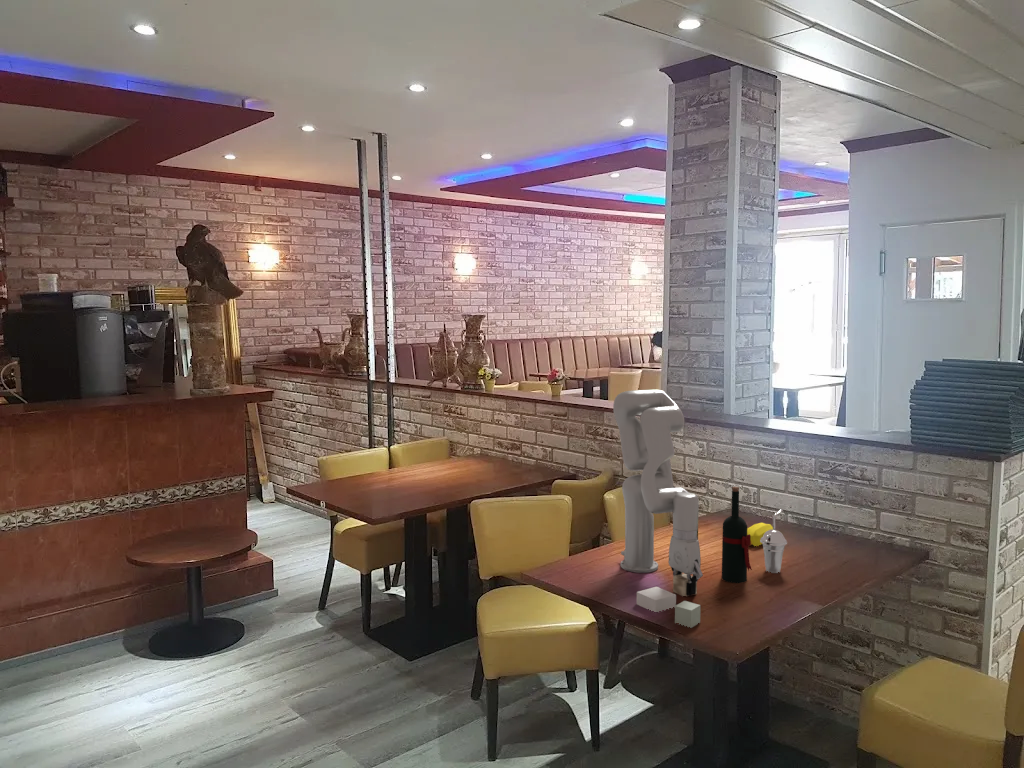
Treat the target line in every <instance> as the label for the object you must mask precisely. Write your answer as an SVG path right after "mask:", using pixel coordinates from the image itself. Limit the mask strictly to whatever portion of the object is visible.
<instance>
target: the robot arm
mask: <svg viewBox="0 0 1024 768" xmlns="http://www.w3.org/2000/svg"><path fill="white" fill-rule="evenodd" d="M612 412H613V416H614V419H615V423H616V425H617V428H618V431H619V439H620V446H621V447H620V448H621V453H622V455H621V456H622V461H623V464H624V467H625V468H626V469H627V470H629V471H632V472H633V471H634V472H635V471H642V472H641V474H633V475H630V476H628V477H626V478H625V479H624V480H623V483H622V484H621V485H622V486H621V491H622V496H623V502H624V519H625V520H624V522H625V525H624V527H625V528H624V529H625V530H624V531H625V532H624V534H625V535H624V547H625V548H624V550H621V551H620V555H622V556H623V560H621V561H620V568H621V569H622V570H624V571H627V572H632V573H640V574H643V573H653V572H655V571H656V570H658V569H659V564H658V562H657V561H656V560H654V558H655V557H654V556H655V555H654V552H655V551H654V547H655V545H654V544H655V543H654V542H655V540H654V539H655V538H654V537H655V526H654V525H655V524H654V523H655V521H654V520H655V519H654V518H655V517H654V514H656V515H657V514H665V513H672V535H671V537H670V542H669V549H668V566H669V567H670V568H671V571H672V577H673V576H675V575H680V574H687V579H688V582H687V583H686V595H687V596H686V597H689V596H690V595H691V596H694V595H697V594H696V582H697V583H698V581H699V580H700V578H702V577H703V572H702V570H701V562H702V561H701V547H700V542H699V541H700V540H699V502H700V501H699V497H698V495H697V494H695V493H693V492H689V491H687V490H686V489H685V488H684V487H680V486H676V487H674V478H673V472H672V465H671V459H672V458H673V457H674V456H675V454H676V451H675V446H674V442H673V438H672V434H671V433H672V432H673V433H674V432H675V433H677V432H679V431H682V429H683V428H684V425H685V416H684V414H683V411H682V409H681V408H680V407H679V405H678V404H677V403H676V402H675V401H674V400H673V399H672V398H671V397H670V396H669V395H668V394H667V393H666V392H665V391H664V390H661V389H656V388H655V389H637V390H636V389H635V390H634V389H633V390H625V391H622V392H620V393H619V394H617V395H616V397H615V398H614V401H613V411H612ZM637 416H640V420H639V418H638V417H637ZM691 576H693V577H692V578H691Z"/></svg>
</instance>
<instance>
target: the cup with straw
mask: <svg viewBox="0 0 1024 768" xmlns="http://www.w3.org/2000/svg"><path fill="white" fill-rule="evenodd" d="M783 512H784V509H783V508H781V509H779V510H778V511H777V512H776V513H774V514H773V515H772V527H773V530H768V531H766V532H765V533H764V535H763V537H762V538H761V540H760V542H761V543H762V544H761V545H762V549H763V554H764V567H765V572H767V571H768V573H770V572H771V573H770V574H779V573H781V568H782V564H783V563H782V562H783V555H784V550H785V547H786V546H787V544H788V541H787V539H786V538H785V536H784V535H783V533H782V532H781V531H779V530H777V529H776V517H777V515H779V514H781V513H783ZM778 572H779V573H778Z"/></svg>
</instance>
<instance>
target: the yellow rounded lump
mask: <svg viewBox="0 0 1024 768" xmlns="http://www.w3.org/2000/svg"><path fill="white" fill-rule="evenodd" d="M768 530H773V525H772V524H771V523H765V522H759V523H754V524H753V525H751V526H749V527H747V535H749V534H750V536H751V544H750V546H749V547H751V546H753V547H755V546H758V547H760V546H761V545H763V544H762V543H761V542H760V540H761V538H762V537H763V535H764V533H765V532H766V531H768ZM759 545H760V546H759Z"/></svg>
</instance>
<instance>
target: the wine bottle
mask: <svg viewBox="0 0 1024 768" xmlns="http://www.w3.org/2000/svg"><path fill="white" fill-rule="evenodd" d="M739 509H740V486H739V487H738V486H731V515H730V516H728V517H726V518H725V519H724V520H723V522H722V539H721V540H722V543H721V544H722V546H721V580H722V579H723V580H722V581H724V582H725V583H726V582H727V583H730V584H742V583H743V584H744V583H746V582H748V572H749V571H750V570H751V571H753V570H752V566H751V564H750V554H749V551H750V550H749V547H751V546H750V544H751V536H750V534H749V535H747V528H748V524H747V522H746V520H745V519H744V518H743V517H741V516H739V514H740V513H739V512H740V510H739Z"/></svg>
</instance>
